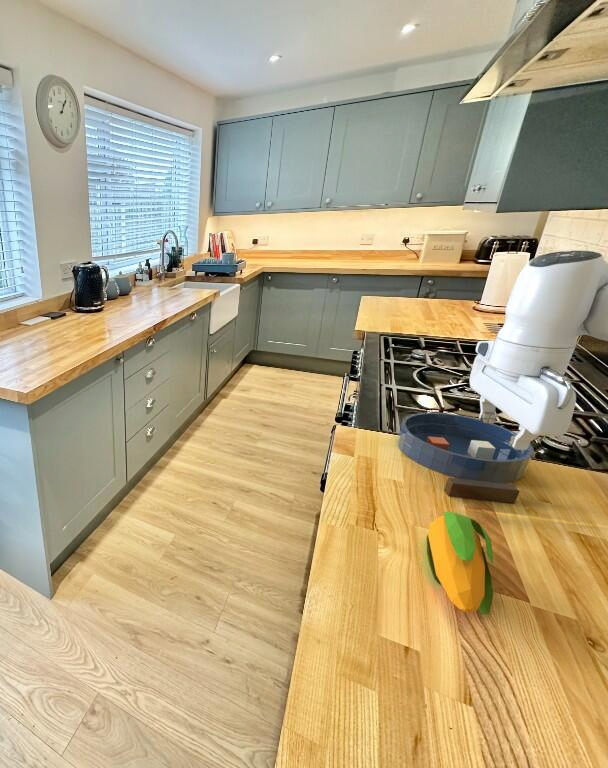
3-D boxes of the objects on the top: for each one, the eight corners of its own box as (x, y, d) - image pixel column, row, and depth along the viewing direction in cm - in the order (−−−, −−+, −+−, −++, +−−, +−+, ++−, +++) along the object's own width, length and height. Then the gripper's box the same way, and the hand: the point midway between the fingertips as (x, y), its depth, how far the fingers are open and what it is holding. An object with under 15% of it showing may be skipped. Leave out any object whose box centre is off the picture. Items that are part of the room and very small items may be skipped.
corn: (489, 505, 65) (519, 599, 49) (479, 544, 67) (505, 646, 52) (429, 493, 69) (439, 577, 53) (422, 531, 71) (429, 621, 56)
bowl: (489, 437, 97) (496, 416, 95) (551, 492, 78) (561, 467, 76) (384, 429, 103) (388, 409, 101) (417, 477, 85) (424, 454, 82)
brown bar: (507, 500, 77) (513, 484, 76) (513, 506, 75) (520, 490, 74) (442, 492, 80) (447, 477, 79) (447, 498, 78) (452, 483, 77)
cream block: (484, 453, 90) (488, 441, 89) (491, 460, 88) (495, 448, 87) (467, 451, 91) (471, 439, 90) (474, 459, 89) (478, 446, 87)
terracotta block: (440, 449, 93) (443, 437, 92) (446, 456, 90) (449, 444, 89) (424, 447, 94) (427, 436, 92) (429, 454, 91) (433, 442, 90)
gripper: (605, 383, 56) (567, 469, 61) (515, 341, 74) (491, 410, 79) (546, 380, 58) (514, 464, 63) (472, 339, 76) (451, 407, 81)
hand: (500, 433), depth 72 cm, fingers open, 8 cm apart
